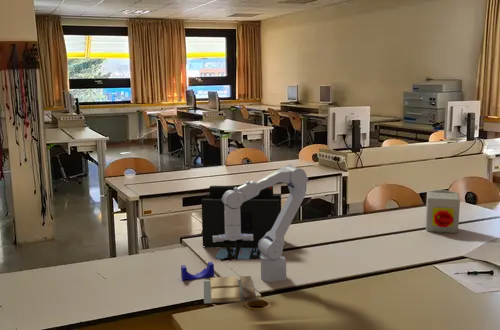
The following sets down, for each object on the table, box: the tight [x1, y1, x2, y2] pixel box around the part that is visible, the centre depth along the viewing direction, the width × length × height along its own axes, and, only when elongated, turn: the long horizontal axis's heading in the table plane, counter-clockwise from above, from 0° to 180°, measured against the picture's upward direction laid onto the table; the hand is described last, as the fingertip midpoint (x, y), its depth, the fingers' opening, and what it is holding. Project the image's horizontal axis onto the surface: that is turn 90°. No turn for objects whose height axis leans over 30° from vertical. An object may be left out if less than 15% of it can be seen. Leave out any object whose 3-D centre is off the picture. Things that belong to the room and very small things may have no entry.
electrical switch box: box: [425, 189, 461, 234], centre depth 258 cm, size 15×15×20 cm
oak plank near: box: [211, 287, 241, 303], centre depth 184 cm, size 10×8×1 cm
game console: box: [201, 185, 282, 260], centre depth 237 cm, size 35×30×27 cm
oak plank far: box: [209, 276, 239, 289], centre depth 194 cm, size 10×8×1 cm
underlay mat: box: [203, 279, 258, 304], centre depth 189 cm, size 18×20×1 cm
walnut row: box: [239, 275, 257, 302], centre depth 190 cm, size 4×19×1 cm, turn 5°
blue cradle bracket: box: [180, 261, 215, 282], centre depth 203 cm, size 12×4×6 cm, turn 108°
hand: (233, 260), depth 194 cm, fingers closed
